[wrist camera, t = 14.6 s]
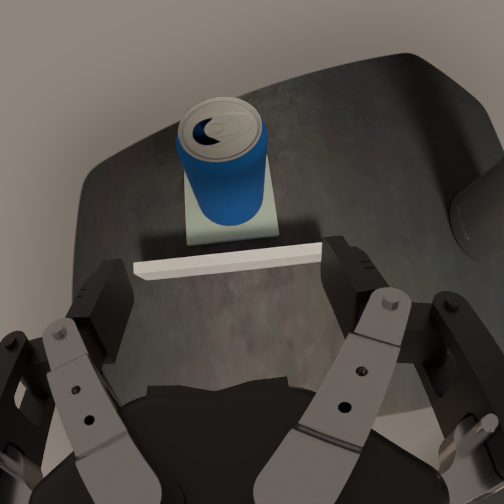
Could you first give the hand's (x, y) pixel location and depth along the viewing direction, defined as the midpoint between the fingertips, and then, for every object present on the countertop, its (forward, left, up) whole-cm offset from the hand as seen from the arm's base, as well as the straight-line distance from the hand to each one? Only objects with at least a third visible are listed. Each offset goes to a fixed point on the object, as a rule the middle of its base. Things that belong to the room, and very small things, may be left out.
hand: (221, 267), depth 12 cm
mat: (0, -11, -17) cm, 20 cm away
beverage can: (0, -11, -17) cm, 20 cm away
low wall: (0, -4, -17) cm, 18 cm away
